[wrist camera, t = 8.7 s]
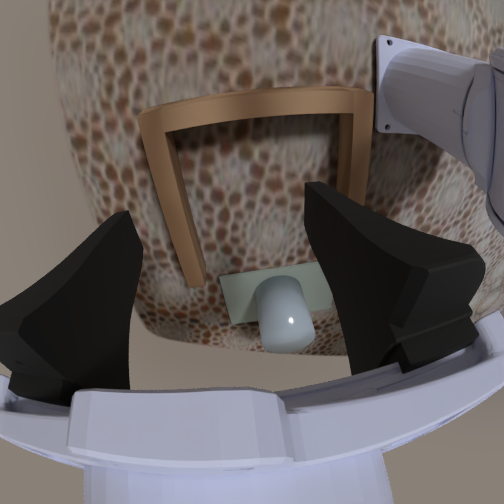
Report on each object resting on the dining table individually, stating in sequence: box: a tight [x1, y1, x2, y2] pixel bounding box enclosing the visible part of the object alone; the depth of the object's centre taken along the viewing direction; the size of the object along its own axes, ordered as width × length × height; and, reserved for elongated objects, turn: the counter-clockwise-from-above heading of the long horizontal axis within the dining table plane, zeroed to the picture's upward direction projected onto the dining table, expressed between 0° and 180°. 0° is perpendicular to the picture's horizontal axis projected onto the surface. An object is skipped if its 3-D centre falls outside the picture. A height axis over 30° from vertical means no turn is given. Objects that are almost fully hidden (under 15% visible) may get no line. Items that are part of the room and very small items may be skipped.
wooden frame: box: [137, 86, 374, 288], centre depth 20 cm, size 15×15×2 cm
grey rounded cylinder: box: [254, 275, 315, 354], centre depth 27 cm, size 7×5×6 cm
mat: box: [219, 261, 333, 324], centre depth 30 cm, size 12×8×1 cm, turn 96°
